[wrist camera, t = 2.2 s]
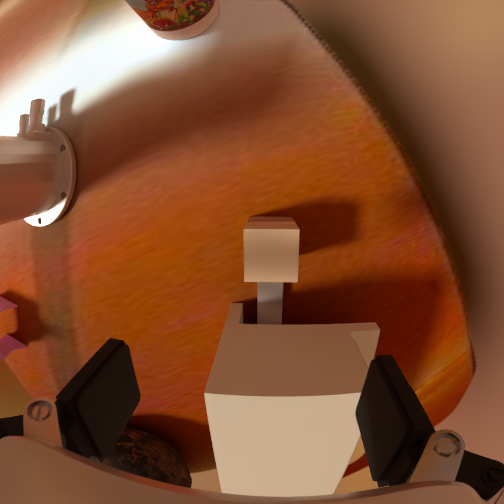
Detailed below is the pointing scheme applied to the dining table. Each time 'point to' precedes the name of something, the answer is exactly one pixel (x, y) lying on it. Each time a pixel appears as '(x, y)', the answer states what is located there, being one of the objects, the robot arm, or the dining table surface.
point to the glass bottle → (148, 458)
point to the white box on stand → (286, 404)
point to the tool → (270, 262)
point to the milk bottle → (176, 16)
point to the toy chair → (7, 343)
